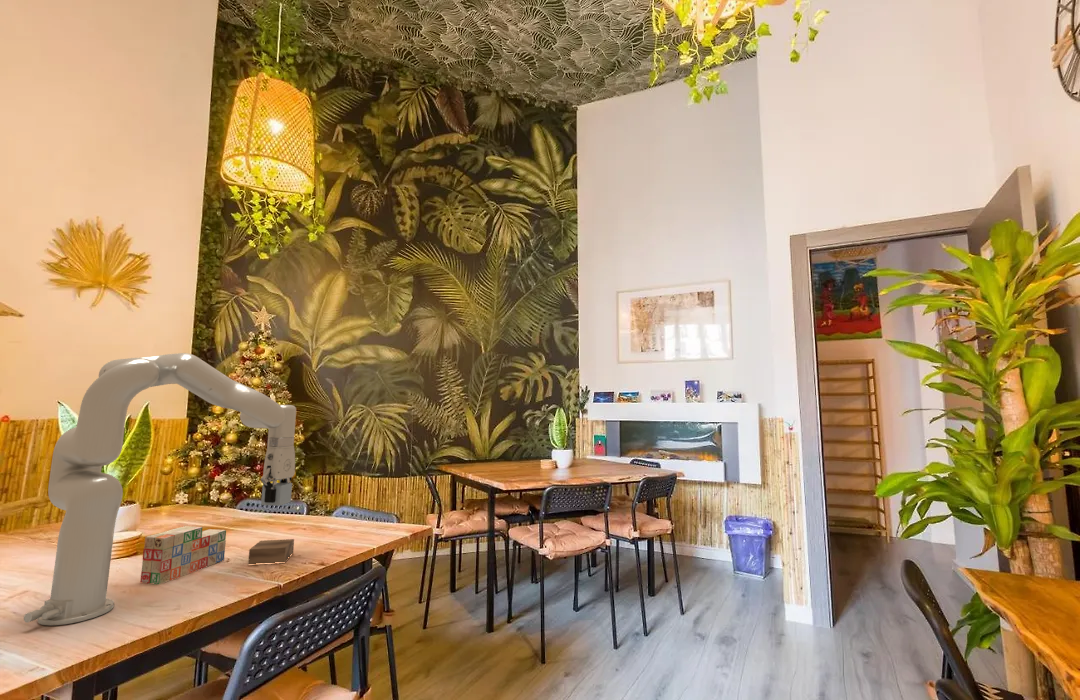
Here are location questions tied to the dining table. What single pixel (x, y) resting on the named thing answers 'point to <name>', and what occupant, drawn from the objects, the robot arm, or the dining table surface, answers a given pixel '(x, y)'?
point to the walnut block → (271, 551)
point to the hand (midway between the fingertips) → (276, 499)
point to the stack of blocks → (180, 552)
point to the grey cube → (279, 494)
